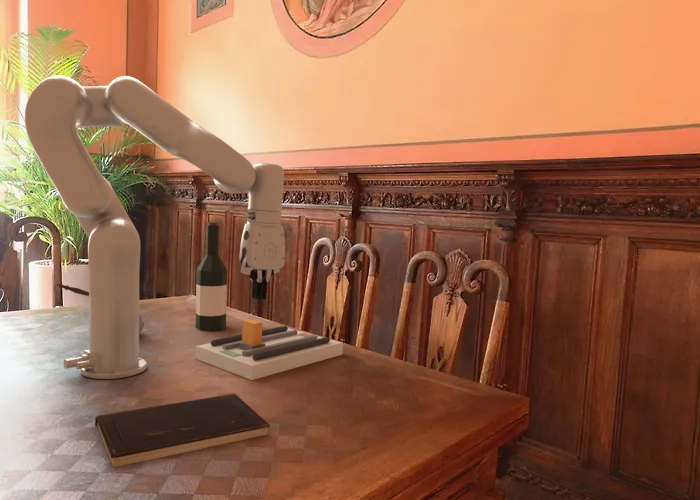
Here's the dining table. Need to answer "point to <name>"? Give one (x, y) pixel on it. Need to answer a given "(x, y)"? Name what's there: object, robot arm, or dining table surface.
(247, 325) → the handle
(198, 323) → the wine bottle
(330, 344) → the slider track board
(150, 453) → the hardcover book
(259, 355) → the dressed cords
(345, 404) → the dining table surface
